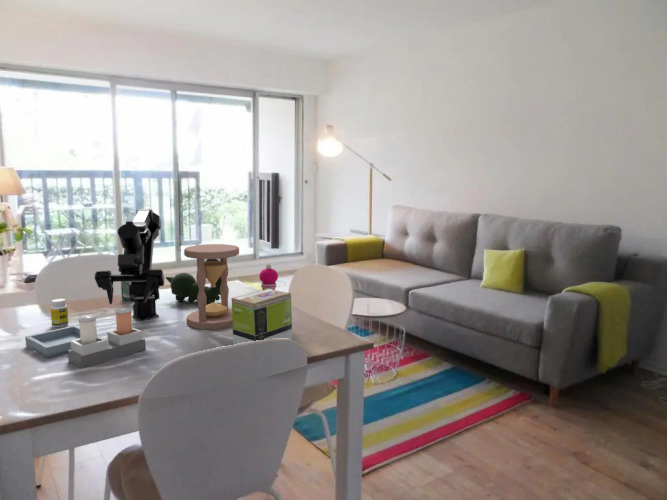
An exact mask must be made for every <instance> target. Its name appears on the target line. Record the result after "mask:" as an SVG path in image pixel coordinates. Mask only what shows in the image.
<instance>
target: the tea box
mask: <svg viewBox="0 0 667 500" xmlns="http://www.w3.org/2000/svg"><path fill="white" fill-rule="evenodd" d="M231 309H232V322H233V326H232V343H233V345H234V344H237V343H242V342H248V341H256V340H264V339H272V338H289V339H292V340H293V317H292V316H293V315H292V293H291V292H286V291H280V290H277V289H275V290H272V289H265V290H263V289H260V290H258V291H254V292H250V293H246V294H241V295H239V296H235V297H231Z"/></svg>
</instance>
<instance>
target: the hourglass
mask: <svg viewBox="0 0 667 500" xmlns="http://www.w3.org/2000/svg"><path fill="white" fill-rule="evenodd" d="M183 255H184V257H186V258H191V259H196V277H195V278H196V279H195V280H196V282H197V284H198V287H199V292H198V296H197V300H196V301H197V302H196V303H197V307H198V310H195V311H192V312H191V313H188V315H187V316H186V324H187V325H188V327H190V326H191V328H194V329H198V330H218V329H226V328H231V327H233V322H232V308H229V294H230V293H229V292H230V289H229V285H228V281H227V279H228V276H229V266H228V259H229V258H233V257H237V256H239V255H240V247H239V246H237V245H233V244H224V243H212V244H210V243H209V244H197V245H196V244H195V245H190V246H187V247H185V248H184V249H183ZM207 259H217V260H219V261H209V262H205V260H207ZM219 277H221V280H222V283H221V287H220V295H219V296H220V300H221V301H220V303H217V302H213V303H211V302H210V303H209V304H207V303H208V302H207V297H206V294H205V291H204V287H205V286H206V281H208V283H210V286H209V287H216V285H215V283H216V282H217V280H218V279H219Z"/></svg>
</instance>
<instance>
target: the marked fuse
mask: <svg viewBox="0 0 667 500" xmlns="http://www.w3.org/2000/svg"><path fill="white" fill-rule="evenodd" d="M114 310H115V311H114V313H115V321H116V330H117V334H118V335H125V334H129V333H132V327H133V321H132V320H133V317H132V315H133V314H132V312H133V307H130V306H120V307H117V308H115V309H114Z"/></svg>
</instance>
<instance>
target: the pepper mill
mask: <svg viewBox="0 0 667 500" xmlns="http://www.w3.org/2000/svg"><path fill="white" fill-rule="evenodd" d="M278 275H279V274H278V272H277V270H275V269H274V268H272V265H271V264H270V263H267V264H266V265H265V268H264V269H262V270H261V271H260V273H259V281H260V282H261V283H260V284H261V286H260V287H261V290H265V289H272V290H276V288H277V283H276V282H277V281H278V279H279V276H278Z"/></svg>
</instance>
